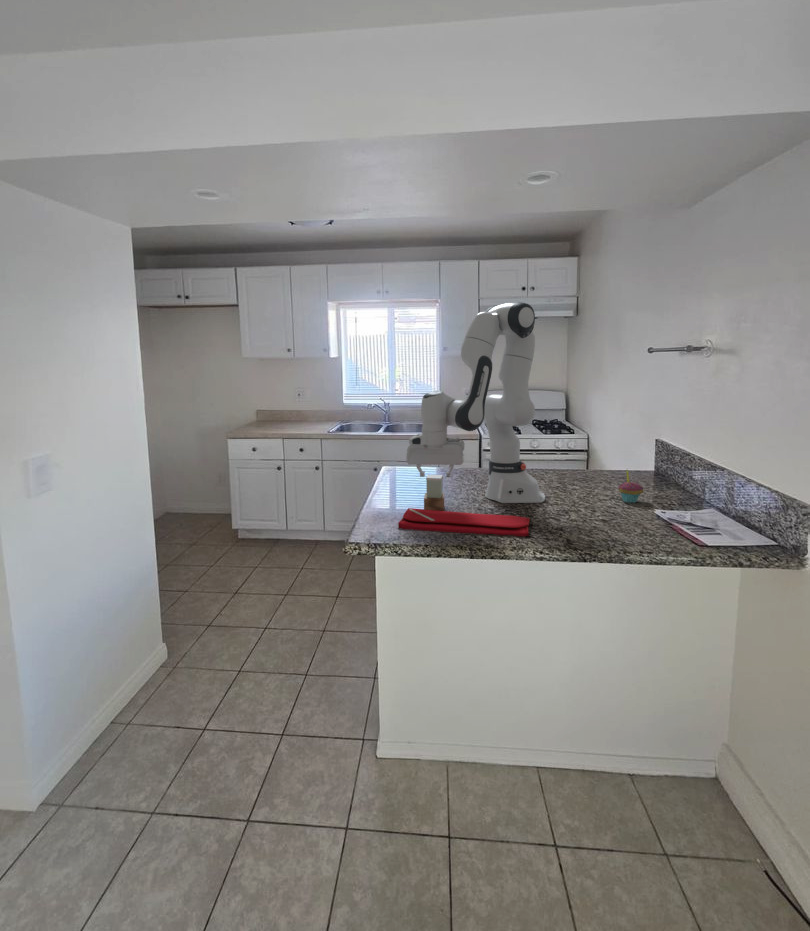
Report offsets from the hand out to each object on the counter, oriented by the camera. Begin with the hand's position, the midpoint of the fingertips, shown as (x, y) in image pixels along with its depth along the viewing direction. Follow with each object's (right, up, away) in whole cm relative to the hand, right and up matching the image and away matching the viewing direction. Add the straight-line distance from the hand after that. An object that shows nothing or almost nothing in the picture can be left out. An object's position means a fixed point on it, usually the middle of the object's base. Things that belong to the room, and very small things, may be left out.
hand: (435, 476), depth 197 cm
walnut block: (0, -12, +2) cm, 12 cm away
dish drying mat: (+9, -16, -17) cm, 25 cm away
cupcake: (+72, -9, +8) cm, 74 cm away
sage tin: (0, -7, +1) cm, 7 cm away
